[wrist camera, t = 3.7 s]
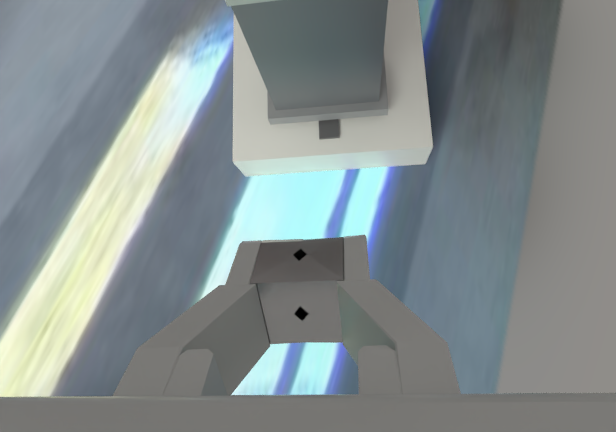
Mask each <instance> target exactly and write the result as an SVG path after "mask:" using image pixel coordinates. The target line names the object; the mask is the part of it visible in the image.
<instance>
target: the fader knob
mask: <svg viewBox="0 0 616 432" xmlns="http://www.w3.org/2000/svg"><path fill="white" fill-rule="evenodd" d="M225 1H226V4H227V6H231V7H232V9H233V11H234V14H235V16H236V18H237V21H238V23H239V25H240V28H241V30H242V32H243V35H244V37H245V39H246V42H247V44H248V46H249V49H250V51H251V53H252V56H253V58H254V60H255V63H256V65H257V67H258V70H259V72H260V74H261V77H262V79H263V81H264V84H265V86H266V88H267V99H268V121H269V123H270V125H274V124H286V123H298V122H310V121H322V120H334V119H346V118H358V117H370V116H382V115H388V97H387V84H386V72H385V59H384V41H385V30H386V19H387V8H388V0H225Z"/></svg>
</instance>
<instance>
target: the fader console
mask: <svg viewBox="0 0 616 432" xmlns="http://www.w3.org/2000/svg"><path fill="white" fill-rule="evenodd" d="M384 59H385V72H386V84H387V97H388V115H382V116H370V117H358V118H346V119H334V120H322V121H310V122H298V123H286V124H274V125H270V123H269V121H268V99H267V88H266V86H265V84H264V81H263V79H262V77H261V74H260V72H259V70H258V67H257V65H256V63H255V60H254V58H253V56H252V53H251V51H250V49H249V46H248V44H247V42H246V39H245V37H244V35H243V32H242V30H241V28H240V25H239V23H238V21H237V18H236V16H235V14H234V60H233V163H234V164H235V165H236V166H237V167H238V168H239V169H240V171H241V172H242V173H243V174H244V175H245V176H246V177H247V176H261V175H276V174H290V173H304V172H319V171H333V170H347V169H362V168H376V167H390V166H405V165H419V164H426V161H427V159H428V157H429V155H430V153H431V150H432V148H433V141H432V132H431V122H430V112H429V103H428V93H427V83H426V74H425V64H424V54H423V45H422V35H421V25H420V16H419V6H418V0H388V8H387V19H386V30H385V41H384Z"/></svg>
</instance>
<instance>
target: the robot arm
mask: <svg viewBox="0 0 616 432" xmlns="http://www.w3.org/2000/svg"><path fill="white" fill-rule="evenodd" d="M300 342H343V345H344V346H345V348H346V349H347V351H348V352H349V354H350V355H351V357H352V358H353V360H354V361H355V362H356V364H357V365H358V371H359V394H355V395H231V394H232V393H233V391H234V390H235V389H236V388H237V386H238V385H239V384H240V383H241V381H242V380H243V379H244V378H245V376H246V375H247V374H248V373H249V372H250V370H251V369H252V368H253V367H254V365H255V364H256V363H257V362H258V360H259V359H260V358H261V357H262V355H263V354H264V353H265V352H266V350H267V349H268V348H269V347H270V344H280V343H300ZM0 432H616V393H525V394H524V393H523V394H521V393H520V394H519V393H516V394H461V393H460V389H459V385H458V381H457V378H456V374H455V370H454V367H453V363H452V359H451V355H450V352H449V348H448V344H447V342H446V341H445V340H443V339H442V338H441V337H440V336H439V335H438V334H437V333H436V332H434V331H433V330H432V329H431V328H430V327H429V326H428V325H427V324H425V323H424V322H423V321H422V320H421V319H420V318H419V317H418V316H417V315H415V314H414V313H413V312H412V311H411V310H410V309H409V308H408V307H406V306H405V305H404V304H403V303H402V302H401V301H400V300H399V299H397V298H396V297H395V296H394V295H393V294H392V293H391V292H390V291H388V290H387V289H386V288H385V287H384V286H383V285H382V284H381V283H380V282H378V281H377V280H370V276H369V264H368V252H367V241H366V236H365V235H358V236H346V237H339V238H323V239H307V240H303V239H295V240H263V241H243V242H242V243H240V245H239V247H238V250H237V253H236V256H235V259H234V262H233V264H232V267H231V270H230V273H229V276H228V279H227V282H226V284H225V285H220V286H218V287H217V288H215V289H214V290H213V291H212V292H210V293H209V294H208V295H206V296H205V297H204V298H202V299H201V300H200V301H199V302H197V303H196V304H195V305H193V306H192V307H191V308H189V309H188V310H187V311H185V312H184V313H183V314H182V315H180V316H179V317H178V318H176V319H175V320H174V321H172V322H171V323H170V324H169V325H167V326H166V327H165V328H163V329H162V330H161V331H159V332H158V333H157V334H155V335H154V336H153V337H152V338H150V339H149V340H148V341H146V342H145V343H144V344H142V345H141V346H140V347H139V348H137V350H136V352H135V354H134V356H133V358H132V359H131V361H130V363H129V365H128V367H127V369H126V371H125V373H124V375H123V377H122V379H121V381H120V383H119V385H118V387H117V388H116V390H115V392H114V394H113V396H69V397H0Z"/></svg>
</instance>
